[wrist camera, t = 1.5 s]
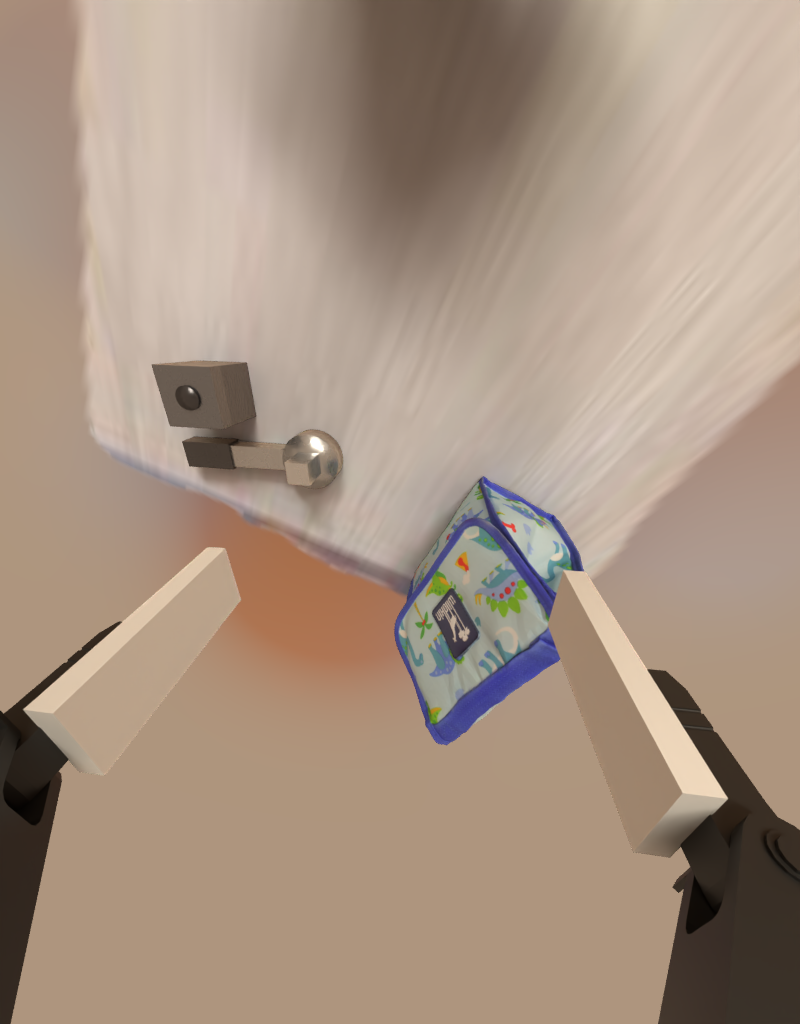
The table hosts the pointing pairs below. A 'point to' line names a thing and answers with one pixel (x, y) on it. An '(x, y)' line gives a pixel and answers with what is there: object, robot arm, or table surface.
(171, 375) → the grey square block
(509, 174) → the table surface
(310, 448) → the chrome ball-end bar
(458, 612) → the lunch bag
